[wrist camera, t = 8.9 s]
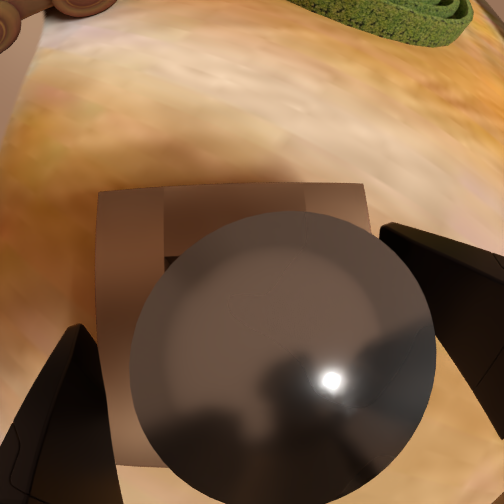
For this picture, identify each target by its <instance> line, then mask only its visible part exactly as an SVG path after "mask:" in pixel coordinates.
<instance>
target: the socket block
mask: <svg viewBox="0 0 504 504" xmlns="http://www.w3.org/2000/svg"><path fill="white" fill-rule="evenodd" d="M281 211H303V212H313V213H318V214H324V215H329V216H332V217H335V218H338V219H342V220H345V221H348V222H350V223H352V224H354V225H356V226H358V227H360V228H362V229H364V230H366V231H368V232H369V233H371V226H370V220H369V214H368V208H367V202H366V196H365V191H364V185H363V184H356V183H231V184H204V185H184V186H167V187H152V188H138V189H126V190H114V191H104V192H99V193H98V206H97V221H96V244H95V301H96V324H97V340H98V351H99V357H100V364H101V369H102V375H103V380H104V386H105V391H106V397H107V405H108V415H109V423H110V431H111V439H112V446H113V452H114V458H115V462H116V465H124V466H138V467H161V468H169V467H168V466H167V465H166V464H165V463H164V462H163V461H162V460H161V458H160V457H159V456H158V454H157V453H156V452H155V450H154V449H153V448H152V446H151V445H150V443H149V441H148V439H147V437H146V435H145V434H144V432H143V430H142V428H141V425H140V423H139V420H138V417H137V414H136V412H135V409H134V404H133V399H132V394H131V389H130V375H129V362H130V351H131V343H132V339H133V335H134V331H135V327H136V323H137V321H138V318H139V316H140V313H141V311H142V308H143V306H144V304H145V302H146V300H147V298H148V296H149V295H150V293H151V291H152V290H153V288H154V286H155V284H156V283H157V282H158V280H159V279H160V278H161V276H162V275H163V274H164V273H165V271H166V270H167V269H168V268H169V266H170V265H171V264H172V263H173V262H174V261H175V260H176V259H177V258H178V257H179V256H180V255H182V254H183V253H184V252H185V251H186V250H187V249H188V248H189V247H191V246H192V245H194V244H195V243H196V242H198V241H199V240H200V239H202V238H203V237H205V236H206V235H208V234H210V233H212V232H214V231H216V230H217V229H219V228H221V227H223V226H225V225H227V224H230V223H233V222H235V221H238V220H241V219H243V218H246V217H251V216H255V215H259V214H264V213H270V212H281ZM371 234H372V233H371Z"/></svg>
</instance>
